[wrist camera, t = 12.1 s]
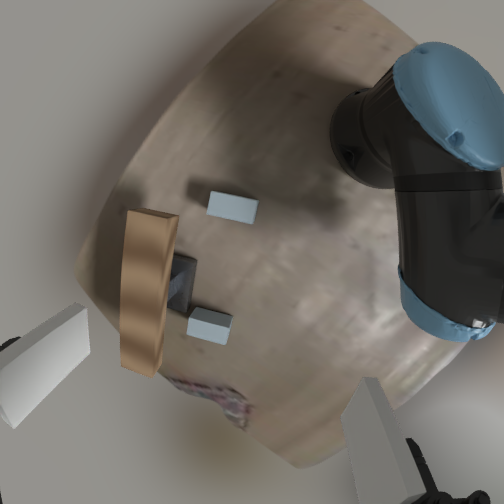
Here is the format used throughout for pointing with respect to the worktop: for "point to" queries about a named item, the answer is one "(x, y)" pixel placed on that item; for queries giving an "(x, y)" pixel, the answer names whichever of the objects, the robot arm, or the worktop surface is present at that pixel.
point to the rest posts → (209, 321)
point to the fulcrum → (181, 283)
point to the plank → (145, 288)
